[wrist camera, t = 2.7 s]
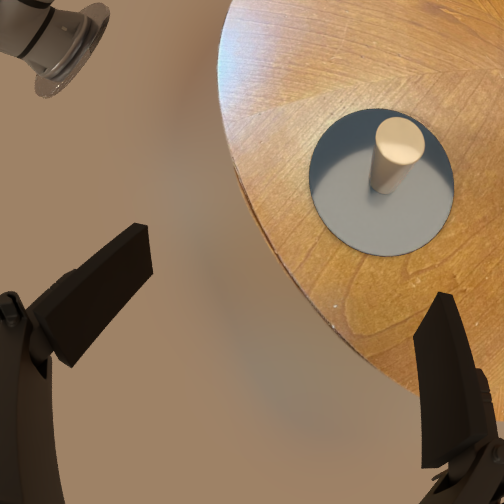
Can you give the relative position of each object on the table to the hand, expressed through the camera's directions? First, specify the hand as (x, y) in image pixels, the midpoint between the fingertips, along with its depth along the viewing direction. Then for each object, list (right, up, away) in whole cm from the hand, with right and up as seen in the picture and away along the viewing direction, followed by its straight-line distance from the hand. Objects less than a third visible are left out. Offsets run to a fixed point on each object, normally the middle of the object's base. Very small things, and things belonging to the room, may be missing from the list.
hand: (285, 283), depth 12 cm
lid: (+9, +7, +9) cm, 15 cm away
